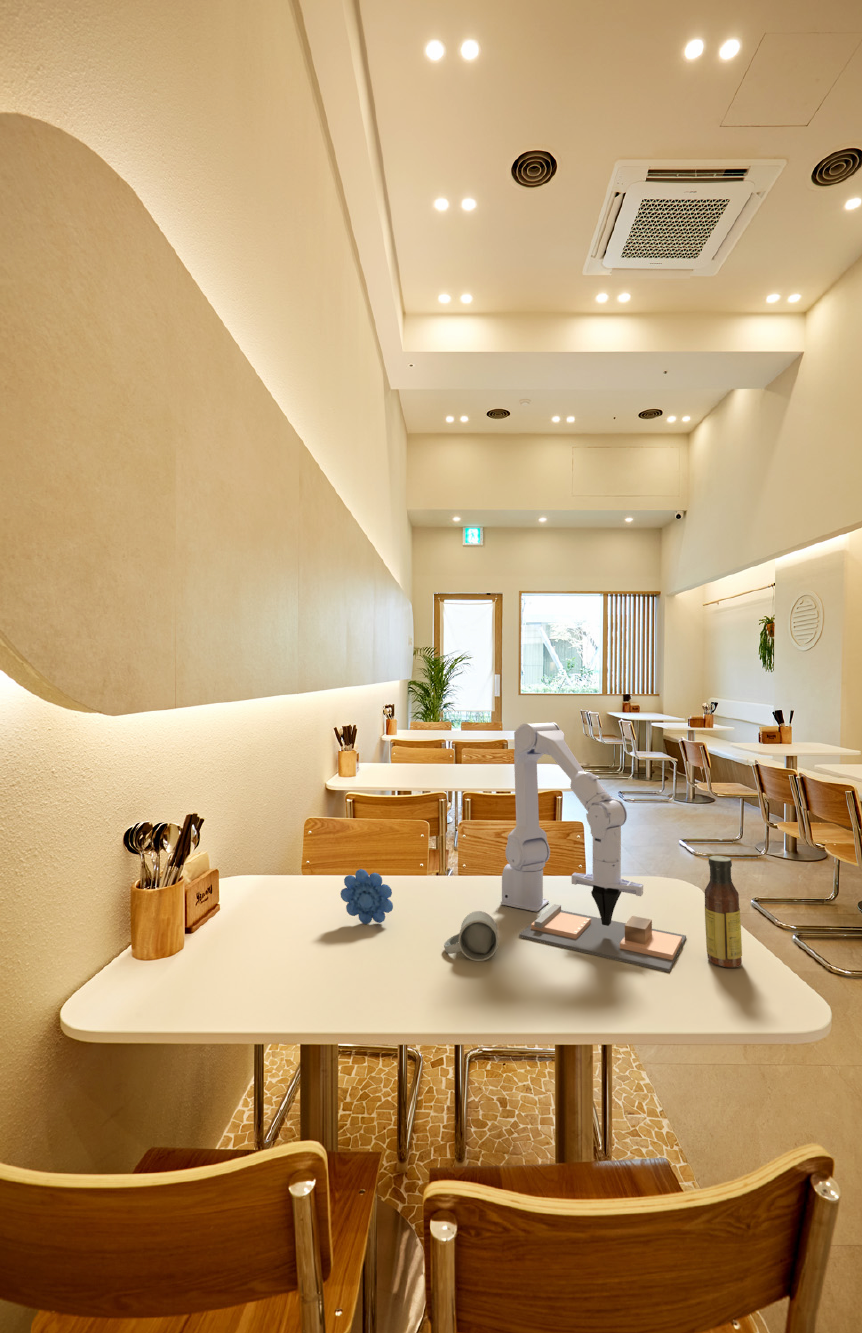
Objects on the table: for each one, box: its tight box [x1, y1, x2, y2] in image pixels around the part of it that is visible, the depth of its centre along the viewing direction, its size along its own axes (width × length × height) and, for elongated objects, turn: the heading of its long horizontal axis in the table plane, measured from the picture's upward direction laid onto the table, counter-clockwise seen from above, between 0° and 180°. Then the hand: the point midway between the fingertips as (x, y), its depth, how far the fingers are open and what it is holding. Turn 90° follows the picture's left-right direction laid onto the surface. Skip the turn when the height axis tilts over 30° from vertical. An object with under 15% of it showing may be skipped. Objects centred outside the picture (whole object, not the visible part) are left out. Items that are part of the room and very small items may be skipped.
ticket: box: [530, 903, 591, 939], centre depth 137 cm, size 10×12×2 cm
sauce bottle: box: [704, 855, 743, 969], centre depth 121 cm, size 6×6×20 cm
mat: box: [518, 909, 687, 973], centre depth 132 cm, size 30×18×1 cm, turn 59°
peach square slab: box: [620, 915, 682, 960], centre depth 127 cm, size 10×10×4 cm
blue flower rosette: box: [340, 868, 394, 925], centre depth 138 cm, size 12×7×12 cm, turn 91°
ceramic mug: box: [443, 910, 499, 962], centre depth 125 cm, size 11×8×8 cm
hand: (606, 923), depth 132 cm, fingers closed
